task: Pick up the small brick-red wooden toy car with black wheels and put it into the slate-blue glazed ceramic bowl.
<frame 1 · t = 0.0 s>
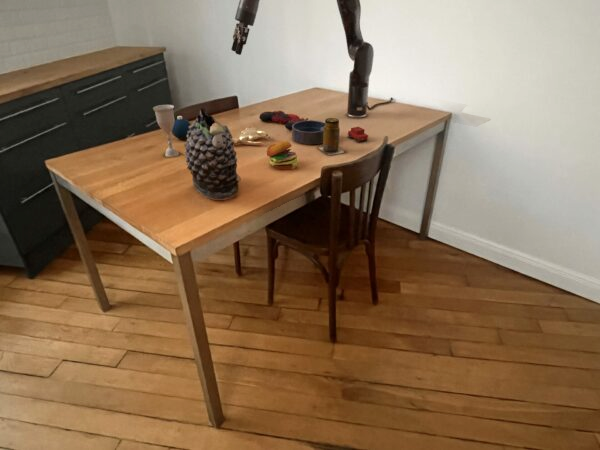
hand: (235, 52, 165), 31 cm above the table, tool tilted 20°, fingers open, 8 cm apart
bowl: (310, 139, 169), on the table
condiment: (331, 151, 158), on the table
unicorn: (248, 141, 168), on the table
chalice: (172, 154, 155), on the table
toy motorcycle: (286, 123, 188), on the table
toy car: (357, 139, 169), on the table
pinecone ceramic vase: (215, 190, 130), on the table
cheeseburger: (282, 166, 146), on the table
christmas ornament: (183, 139, 170), on the table
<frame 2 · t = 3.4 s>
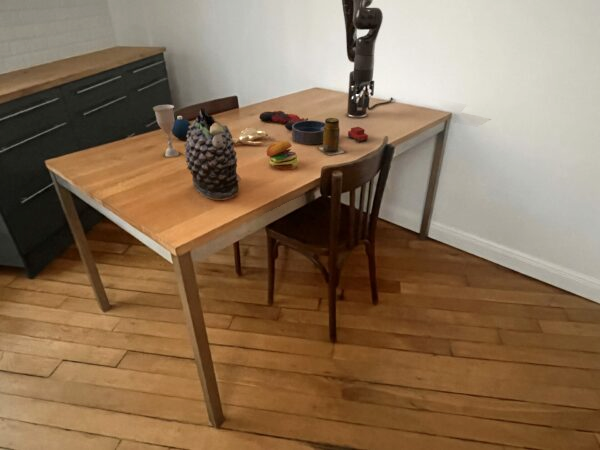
hand: (360, 109, 163), 12 cm above the table, tool pointing down, fingers open, 8 cm apart
nothing on the table moved.
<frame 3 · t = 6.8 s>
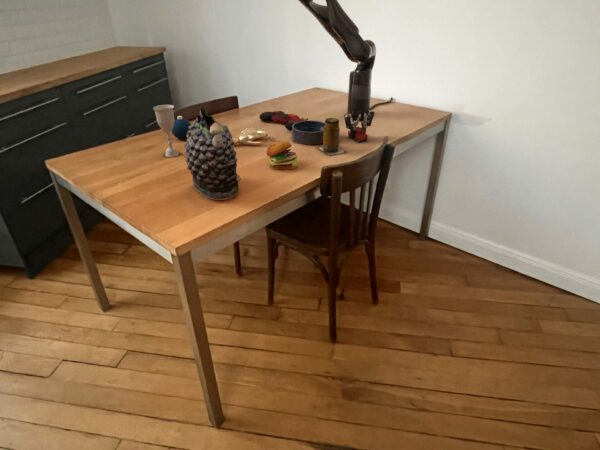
hand: (357, 137, 169), 1 cm above the table, tool pointing down, fingers closed on toy car, 4 cm apart
toy car: (357, 139, 169), on the table, touching gripper
everything else where it was.
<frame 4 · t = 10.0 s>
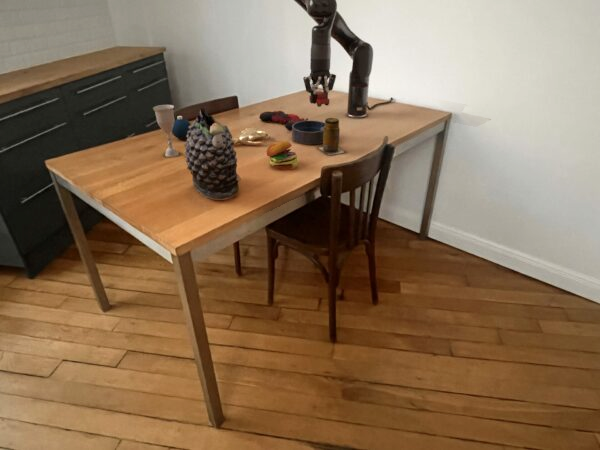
hand: (319, 102, 161), 15 cm above the table, tool pointing down, fingers closed on toy car, 4 cm apart
toy car: (319, 104, 161), point 14 cm above the table, touching gripper
everything else where it was.
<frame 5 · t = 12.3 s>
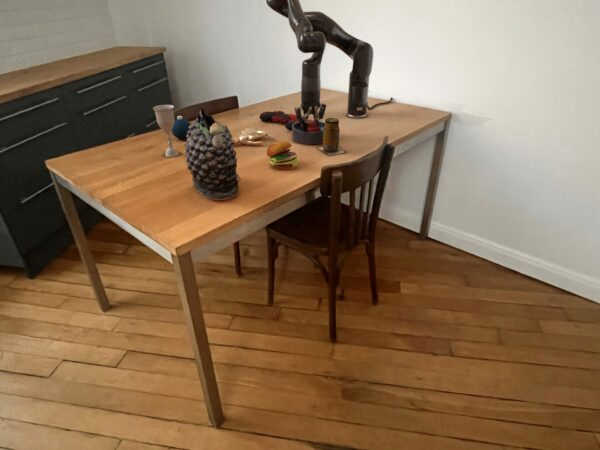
hand: (310, 130, 167), 4 cm above the table, tool pointing down, fingers closed on toy car, 4 cm apart
toy car: (310, 132, 168), point 3 cm above the table, touching gripper
everything else where it was.
when the fingers open (1 cm above the table, at t = 13.4 s): toy car stays where it is, resting on bowl.
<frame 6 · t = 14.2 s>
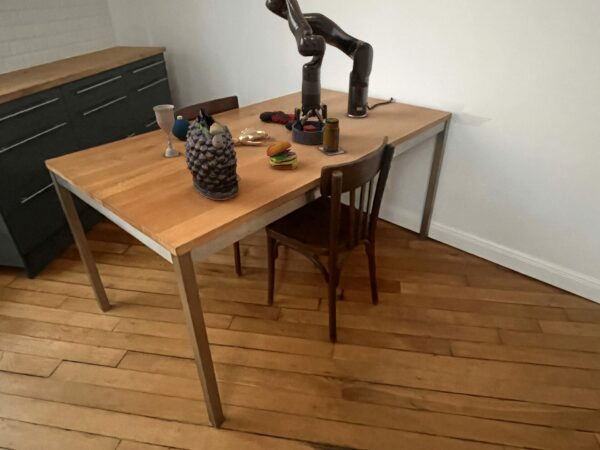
hand: (310, 131, 168), 3 cm above the table, tool pointing down, fingers open, 8 cm apart
toy car: (310, 137, 169), point 1 cm above the table, touching bowl
everything else where it was.
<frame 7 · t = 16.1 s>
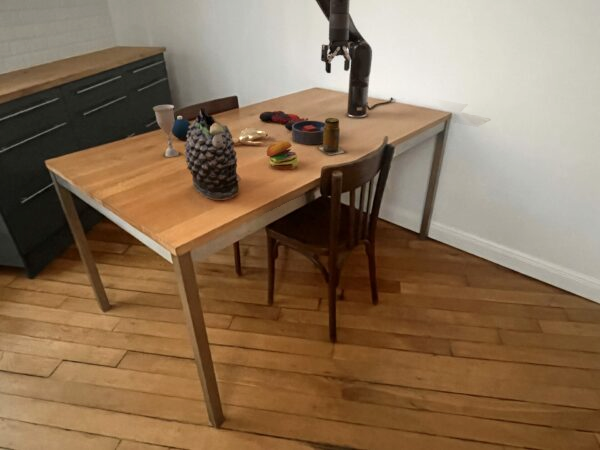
hand: (337, 71, 161), 26 cm above the table, tool pointing down, fingers open, 8 cm apart
nothing on the table moved.
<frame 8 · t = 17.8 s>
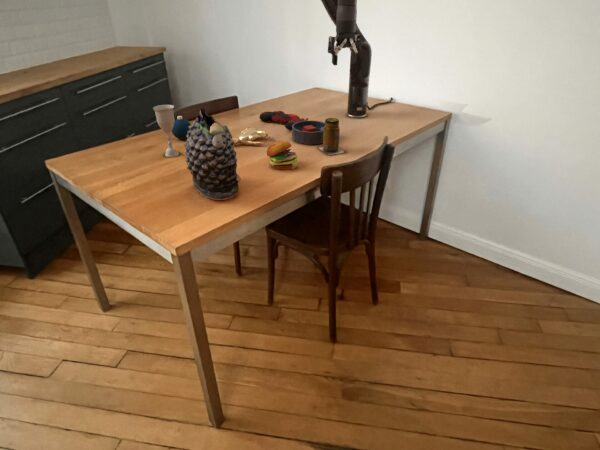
hand: (343, 64, 162), 28 cm above the table, tool pointing down, fingers open, 8 cm apart
nothing on the table moved.
at the end: toy car inside the target area in the bowl (0.1 cm from its centre), point 0.6 cm above the bowl's base; the gripper is holding nothing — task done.
